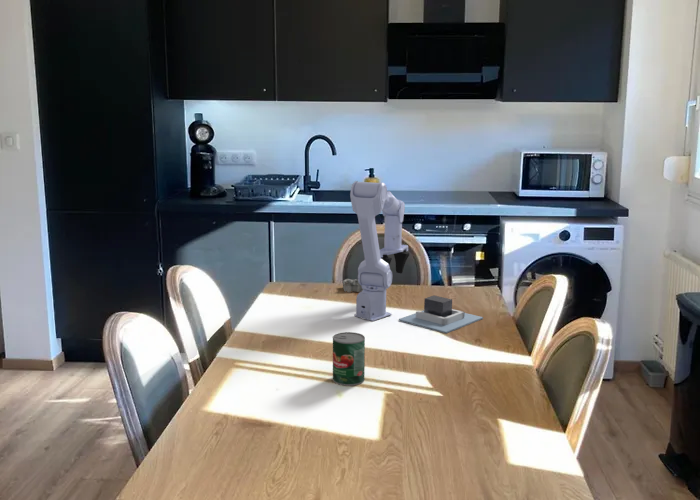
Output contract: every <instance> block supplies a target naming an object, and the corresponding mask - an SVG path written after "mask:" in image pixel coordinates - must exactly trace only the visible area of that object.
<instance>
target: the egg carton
mask: <svg viewBox="0 0 700 500" xmlns="http://www.w3.org/2000/svg"><path fill="white" fill-rule="evenodd" d="M342 289H343V291H344V292H346V291H347V292H346V293H352V292H356V293H360V292H362V290H363V289H362V286H361V285H360V284H359V282H358V278H356V279H350V278H345V279H344V280H342ZM351 291H352V292H351Z"/></svg>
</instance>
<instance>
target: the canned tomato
mask: <svg viewBox="0 0 700 500" xmlns="http://www.w3.org/2000/svg"><path fill="white" fill-rule="evenodd" d="M365 340H366V339H365V335H363V334H362V333H358V332H352V331H351V332H350V331H343V332H338V333H335V334H334V335H333V336H332V381H333V382H334V383H335V384H338V385H339V386H345V387H347V386H349V387H352V386H353V387H355V386H359V385H361V384H363V383H364V382H365V370H366V369H365V365H366V364H365V357H366V353H365V351H366V350H365V346H366V345H365V344H366V343H365Z"/></svg>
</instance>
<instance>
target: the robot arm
mask: <svg viewBox="0 0 700 500" xmlns="http://www.w3.org/2000/svg"><path fill="white" fill-rule="evenodd" d="M350 187H351V188H350V193H349V195H350V196H349V197H350V202H351V207H352V211H353V213H354V214H356V215H357V219H358V226H359V233H360V237H361V238H360V239H361V244H362V249H363V256H364V260H362V261H361V262H360V263H359V265H358V268H357V273H358V274H357V279H358V282H359V284H360V285H361V286H362V289H363V290H362V291H360V292H358V294H357V295H356V299H355V300H356V303H355V304H356V307H355V309H356V311H355V312H356V313H355V314H354V317H356V318H359V319H364V320H367V321H371V322H374V321H379V320H380V319H383V318H386V317H389V316H392V312H387V289H389V288H390V287H391V285H392V283H393V271H392V270H391V267H390V265H391V263H392V260H393V258H392V257H389V255H393V256H394V260H395V271H396V273H397V274H403V271H404V267H405V264H406V262H407V260H408V258H409V257H410V252H408V251H409V245H407V244H402V234H403V229H402V228H403V222H404V217H405V216H404V215H405V210H406V209H405V208H406V206H405V204H406V203H405V202H404V201H403V200H401V199H398V198H396V197H395V195H393V193H392V192H391V191H389V190H388V187H387V185H386V183H385V182H369V181H368V182H367V181H358V180H355V181H354V182H353V183H352V184H351V186H350ZM381 213H382V216H383V217H384V240H383V241H384V247H382V248H380V244H379V238H378V237H379V236H378V232H377V224H376V223H377V222H376V216H378V215H379V214H381Z"/></svg>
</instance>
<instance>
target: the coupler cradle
mask: <svg viewBox="0 0 700 500" xmlns="http://www.w3.org/2000/svg"><path fill="white" fill-rule="evenodd" d="M483 319H484V317H483V316H479V315H475V314H472V313H468V312H467V313H466V312H465V311H462V310H458V309H453V308H452V315H450V316H447V317H441V316H437V315H433V314H429V313H425V312H424V309H422V311H420V310H417V311H415V313H413V314H409V315H407V316H404V317H400V318H398V322H402V323H406V324H410V325H413V326H416V327H417V326H418V327H421V328H424V329H429V330H431V331H434V332H440V333H443V334H448V333H451V332H454V331H456V330H459V329H461V328H464V327H466V326H469V325H471V324H474V323H476V322H478V321H481V320H483Z"/></svg>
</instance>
